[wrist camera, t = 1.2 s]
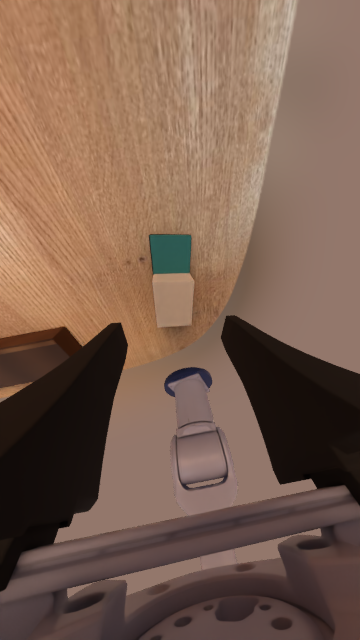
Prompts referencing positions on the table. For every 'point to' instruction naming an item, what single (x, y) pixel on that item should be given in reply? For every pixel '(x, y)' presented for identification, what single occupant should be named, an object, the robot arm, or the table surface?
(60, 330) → the dark wooden plank
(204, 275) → the table surface
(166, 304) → the two-tone block
